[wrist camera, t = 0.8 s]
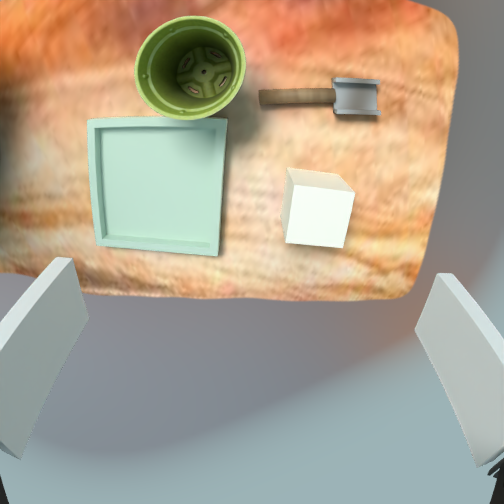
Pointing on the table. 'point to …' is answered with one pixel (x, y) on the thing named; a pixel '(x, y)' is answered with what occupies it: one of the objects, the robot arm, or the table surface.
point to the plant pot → (189, 68)
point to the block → (315, 208)
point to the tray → (157, 182)
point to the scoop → (331, 96)
